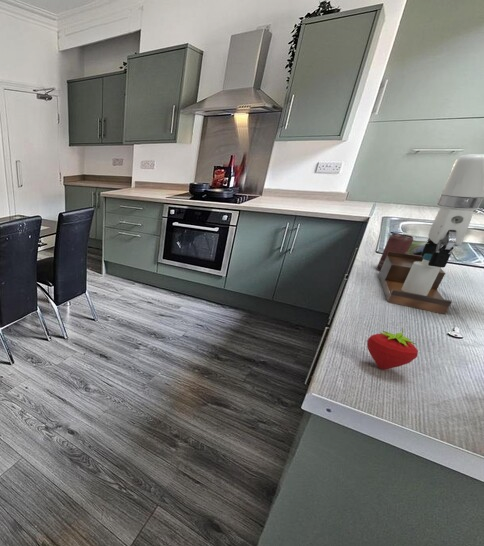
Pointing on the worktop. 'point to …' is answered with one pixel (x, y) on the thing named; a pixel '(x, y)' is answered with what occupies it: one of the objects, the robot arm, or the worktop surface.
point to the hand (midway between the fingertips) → (431, 261)
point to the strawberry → (391, 350)
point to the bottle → (421, 277)
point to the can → (396, 246)
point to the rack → (395, 276)
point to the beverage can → (417, 246)
